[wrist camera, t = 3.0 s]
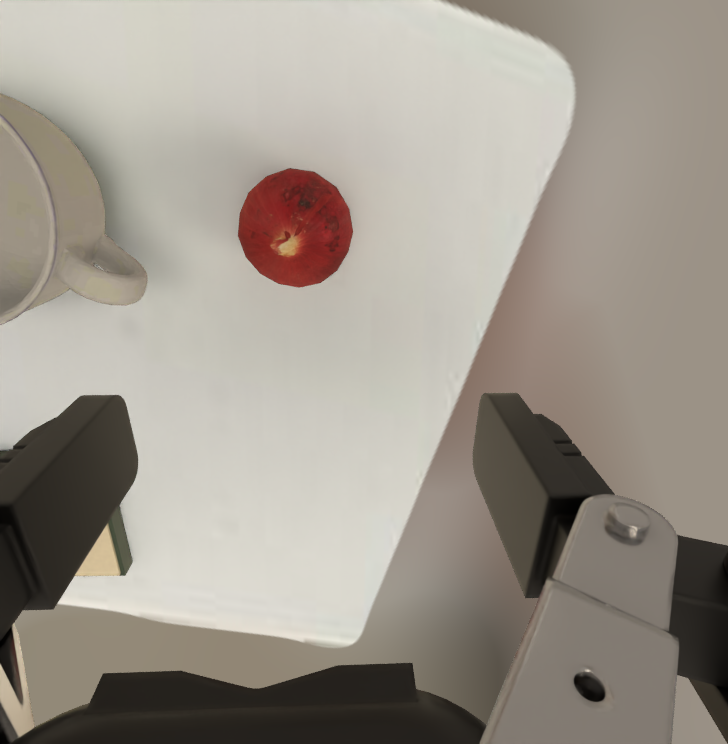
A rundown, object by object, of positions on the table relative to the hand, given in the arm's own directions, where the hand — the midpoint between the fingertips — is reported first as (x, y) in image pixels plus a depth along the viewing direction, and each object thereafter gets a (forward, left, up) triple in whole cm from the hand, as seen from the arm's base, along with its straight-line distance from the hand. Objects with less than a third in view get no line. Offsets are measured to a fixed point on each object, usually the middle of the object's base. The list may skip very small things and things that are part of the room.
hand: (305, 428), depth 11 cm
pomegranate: (-1, +2, -20) cm, 20 cm away
